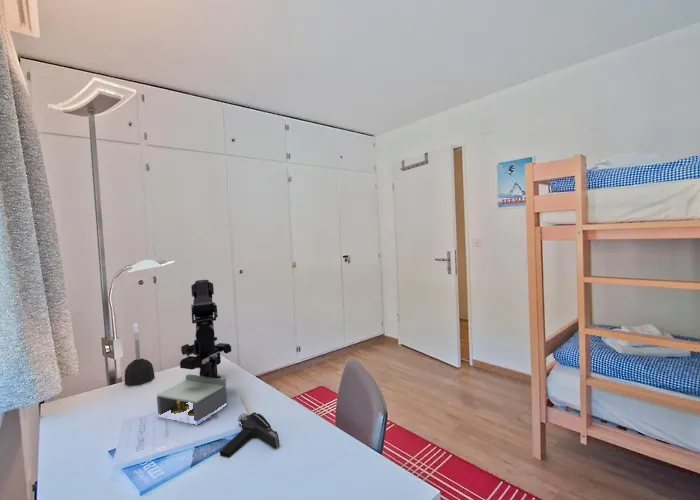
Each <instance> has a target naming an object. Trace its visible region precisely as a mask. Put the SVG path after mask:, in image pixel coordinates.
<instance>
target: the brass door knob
mask: <svg viewBox="0 0 700 500" xmlns="http://www.w3.org/2000/svg"><path fill="white" fill-rule="evenodd" d="M187 409H189V405H188V404H184V403H183V401H179V400H176V406H175V407H173V408H172V409H171V413H174V414H176V413H181V412H184V411H186V410H187Z"/></svg>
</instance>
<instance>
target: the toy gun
mask: <svg viewBox="0 0 700 500" xmlns="http://www.w3.org/2000/svg"><path fill="white" fill-rule="evenodd" d="M238 421H239V422H241V424H242V428H241V430H240V431H239V432H238V433H237V434H235V436H234V437H233V438H232V439H231V440H230V441H229V442H228V443H227V444H226V445H225V446H224V447H223V448H221V450H219V456H222V457H225V458H231V456H233V455H234V454H235V453H236V452H237V451H238V450H239V449H240V448H241V447H242V446H243V445H244V444H245V443H246V442H247V441H248V440H249V438H252V439H254V438H255V439H256V438H257V439H259V440H260V441H262V442H263V443H265V444H266V445H268V446H269V447H271V448H272V449H274V450H275V449H278V448H279V447H280V439H279V433H278V432H277V431H276V430H274V429H272V425H271V424H270V423H269V422H268V420H267V419H266V418H265V416H264V415H263V414H261V413H257V412H252V413H250V414H248V413H246V412H244V413H241V414H239V415H238V418H237V422H238Z"/></svg>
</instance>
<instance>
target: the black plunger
mask: <svg viewBox="0 0 700 500" xmlns="http://www.w3.org/2000/svg"><path fill="white" fill-rule="evenodd" d="M132 324H133V325H132V326H133V336H134V337H133V338H134V348H135V349H134V350H135V359H134V360H132V361H131V362H130V363H129V364H128V365H127V366H126V368H125V370H124V387H126V388H129V389H130V388H135V387H143V386H144V385H148V384H150V383H152V382H153V381H154V380H155V379H156V377H155V371H154V366H153V363H152V362H151V361H150V360H148V359H145V358H141V352H140V351H141V350H140V349H141V348H140V336H139V326H138V323H137V322H135V323H134V322H133V323H132Z"/></svg>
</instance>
